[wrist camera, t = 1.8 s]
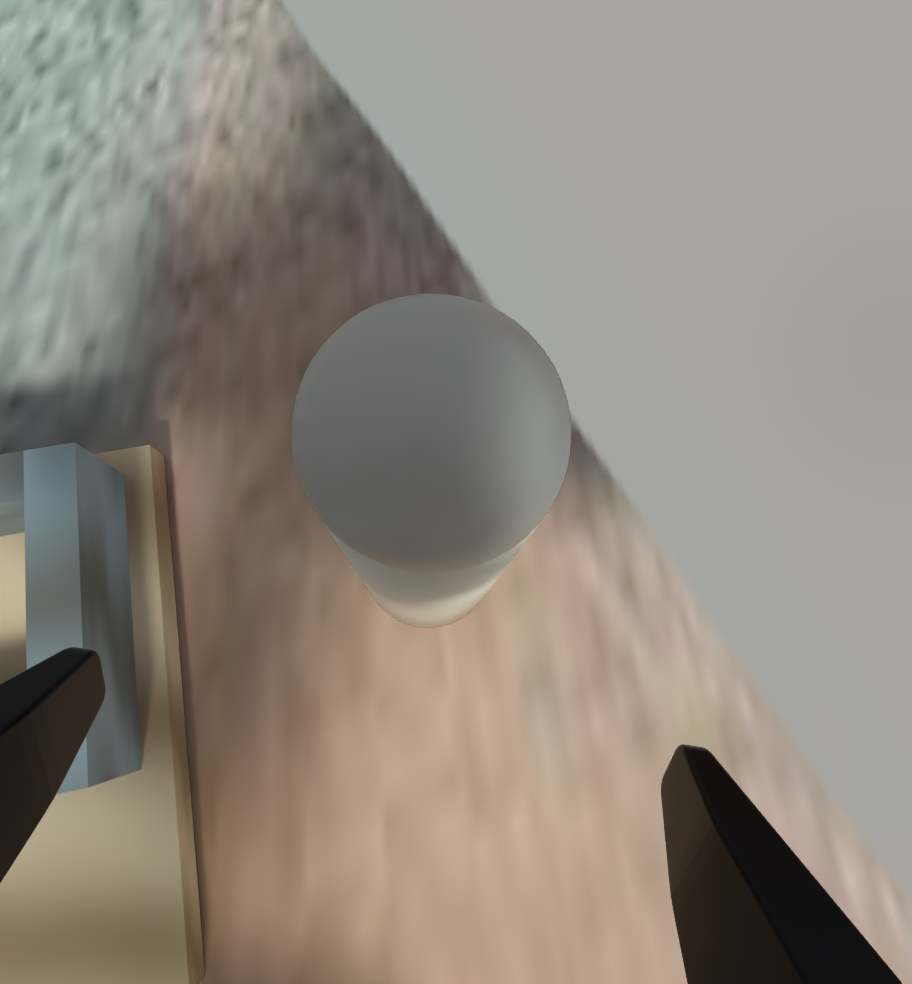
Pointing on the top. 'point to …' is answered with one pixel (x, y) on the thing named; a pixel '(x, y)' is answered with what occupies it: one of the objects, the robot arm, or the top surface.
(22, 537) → the jig
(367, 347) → the cylinder
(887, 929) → the top surface
